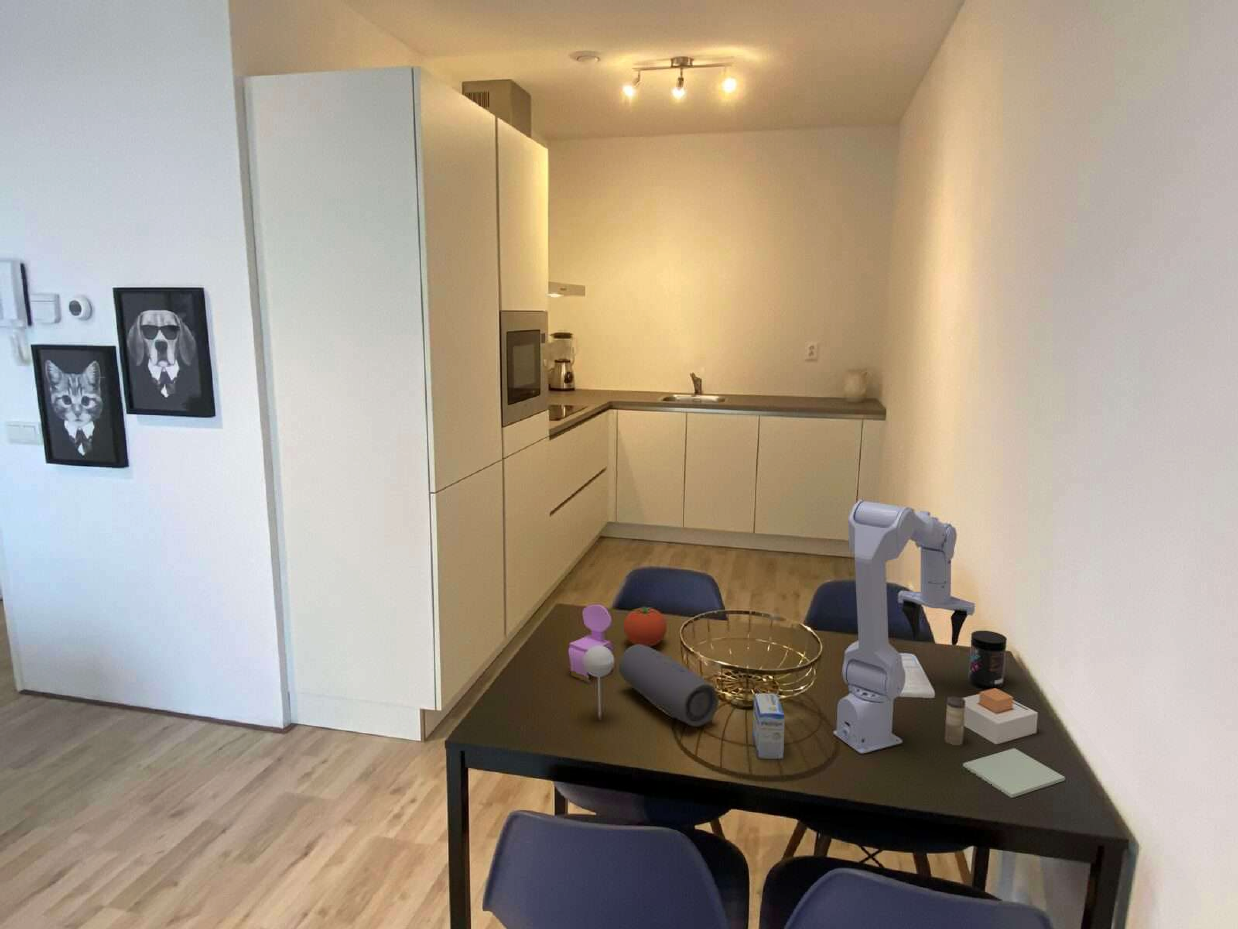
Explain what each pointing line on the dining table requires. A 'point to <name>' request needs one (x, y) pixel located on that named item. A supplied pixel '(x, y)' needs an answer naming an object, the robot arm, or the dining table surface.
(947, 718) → the tan lidded jar
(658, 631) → the tomato
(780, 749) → the medicine box
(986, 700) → the button
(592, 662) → the lollipop
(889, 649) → the robot arm
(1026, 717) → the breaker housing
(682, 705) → the bluetooth speaker
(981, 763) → the sage board
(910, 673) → the calculator
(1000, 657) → the supplement container
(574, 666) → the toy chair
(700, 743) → the dining table surface
